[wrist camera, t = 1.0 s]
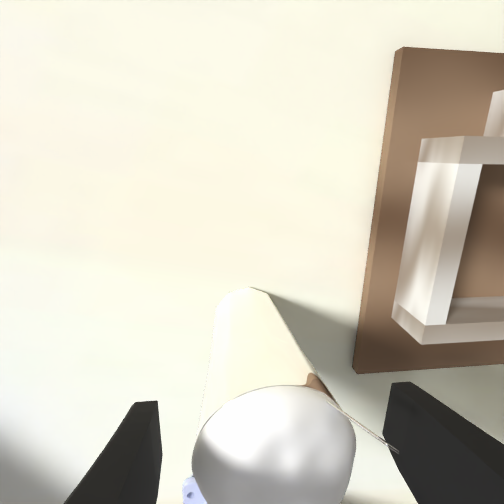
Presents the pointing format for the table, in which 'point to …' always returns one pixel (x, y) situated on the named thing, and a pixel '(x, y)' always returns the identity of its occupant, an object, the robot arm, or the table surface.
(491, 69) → the pocket plate
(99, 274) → the table surface
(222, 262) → the table surface
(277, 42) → the table surface
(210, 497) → the milkshake
